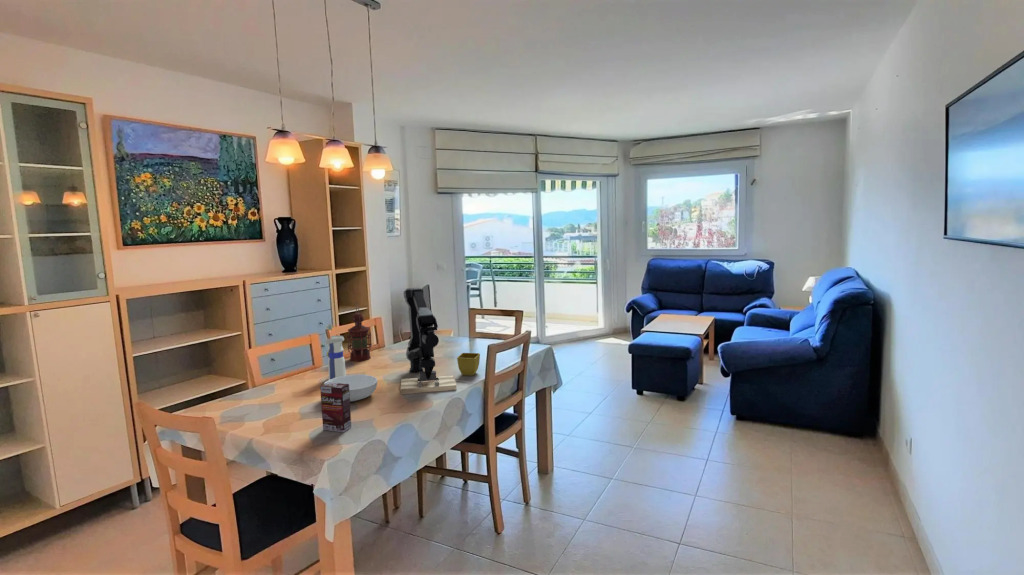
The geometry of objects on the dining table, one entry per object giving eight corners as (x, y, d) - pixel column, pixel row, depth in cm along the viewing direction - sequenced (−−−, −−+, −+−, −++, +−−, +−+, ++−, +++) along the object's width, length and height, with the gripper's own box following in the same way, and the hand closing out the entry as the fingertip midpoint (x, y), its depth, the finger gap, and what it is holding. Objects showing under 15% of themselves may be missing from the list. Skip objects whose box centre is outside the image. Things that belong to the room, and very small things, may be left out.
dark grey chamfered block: (419, 379, 226) (419, 371, 225) (436, 378, 227) (435, 370, 226) (419, 381, 223) (419, 373, 222) (436, 380, 224) (436, 372, 224)
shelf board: (401, 383, 227) (401, 375, 226) (454, 379, 231) (453, 371, 230) (400, 394, 213) (400, 385, 213) (456, 389, 217) (456, 381, 217)
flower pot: (475, 377, 234) (475, 358, 233) (457, 376, 236) (456, 357, 234) (480, 371, 242) (480, 353, 241) (462, 371, 244) (462, 352, 243)
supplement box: (322, 430, 177) (319, 386, 175) (330, 425, 182) (327, 381, 180) (344, 432, 175) (341, 387, 173) (352, 427, 179) (349, 383, 177)
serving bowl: (357, 409, 196) (356, 392, 195) (313, 404, 204) (311, 387, 203) (388, 392, 216) (387, 376, 215) (347, 387, 223) (346, 372, 222)
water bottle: (323, 380, 233) (319, 326, 230) (335, 375, 241) (331, 322, 238) (338, 381, 231) (335, 327, 228) (350, 376, 239) (347, 323, 236)
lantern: (346, 357, 272) (342, 301, 268) (369, 354, 278) (366, 299, 274) (350, 363, 261) (346, 304, 257) (374, 359, 267) (371, 302, 263)
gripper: (407, 338, 230) (409, 372, 232) (407, 348, 212) (408, 385, 214) (433, 337, 232) (434, 370, 234) (434, 347, 214) (435, 383, 216)
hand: (428, 377), depth 225 cm, fingers closed on dark grey chamfered block, 3 cm apart
